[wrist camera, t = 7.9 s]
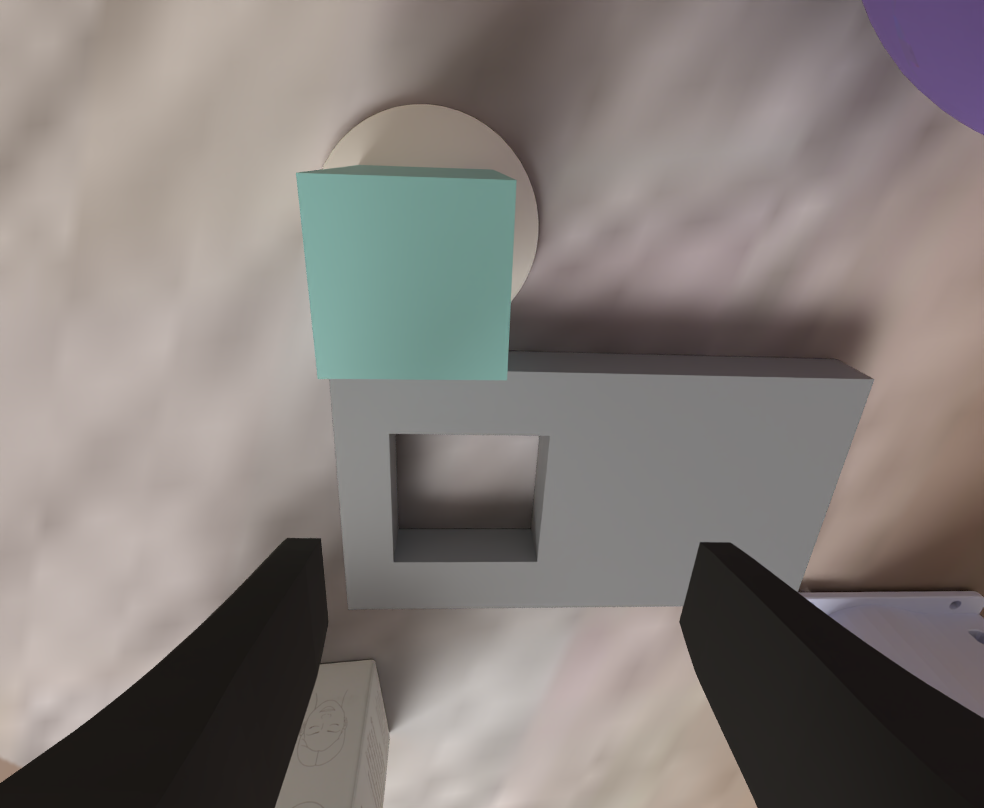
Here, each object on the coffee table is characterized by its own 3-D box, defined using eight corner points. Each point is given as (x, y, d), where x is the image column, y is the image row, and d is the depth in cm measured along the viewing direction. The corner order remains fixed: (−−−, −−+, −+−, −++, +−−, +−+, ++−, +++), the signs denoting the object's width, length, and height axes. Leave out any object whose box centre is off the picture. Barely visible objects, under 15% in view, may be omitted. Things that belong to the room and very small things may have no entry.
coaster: (546, 112, 16) (548, 111, 16) (528, 337, 19) (529, 341, 19) (305, 97, 16) (301, 97, 15) (324, 332, 19) (321, 336, 18)
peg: (493, 169, 17) (516, 180, 10) (488, 300, 18) (506, 380, 12) (358, 164, 16) (296, 172, 10) (366, 298, 18) (317, 378, 12)
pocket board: (836, 359, 20) (873, 379, 18) (768, 571, 24) (793, 605, 23) (340, 346, 19) (328, 367, 17) (356, 573, 23) (348, 609, 21)
